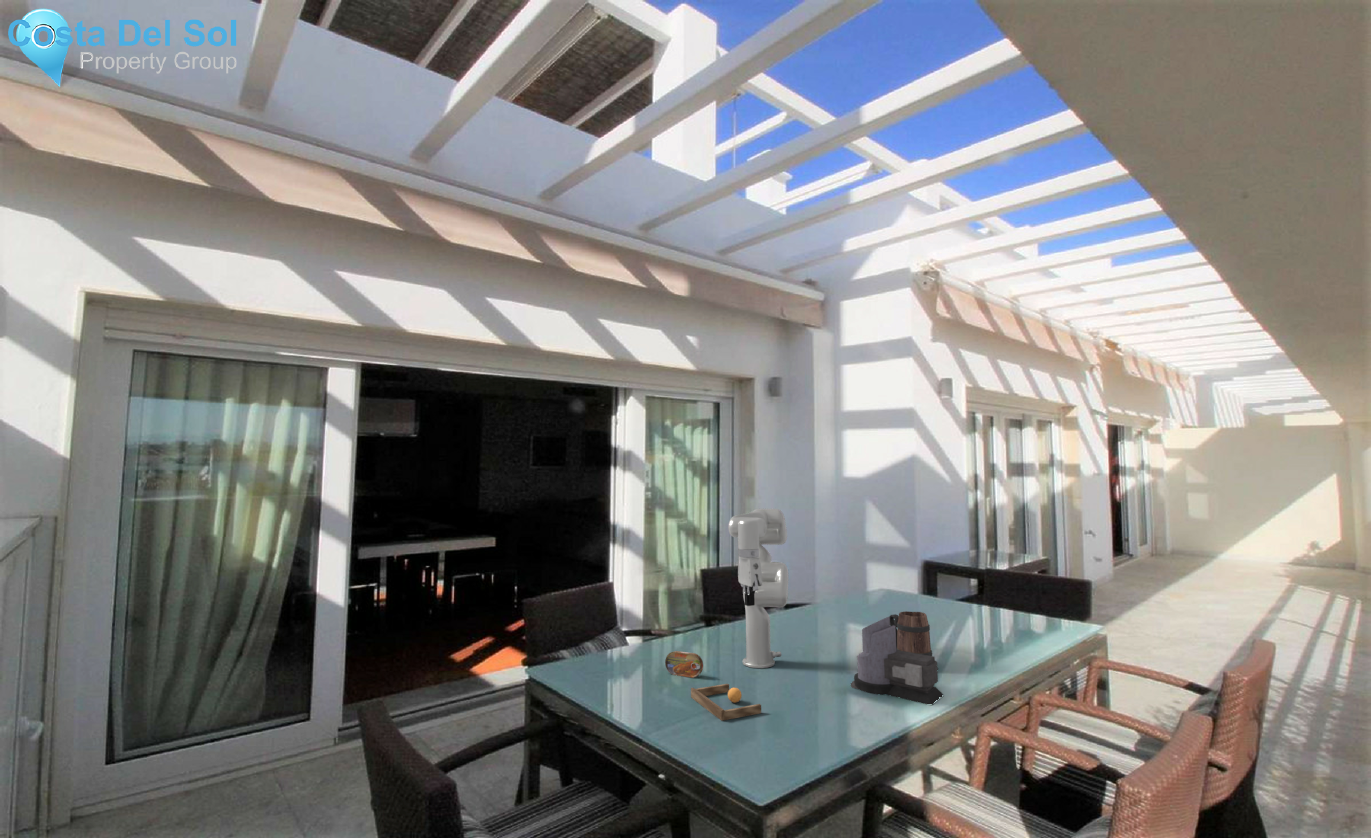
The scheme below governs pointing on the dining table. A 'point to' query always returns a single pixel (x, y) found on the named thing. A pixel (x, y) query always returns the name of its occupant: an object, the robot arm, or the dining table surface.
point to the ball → (734, 695)
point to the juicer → (894, 667)
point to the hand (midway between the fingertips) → (749, 605)
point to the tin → (684, 664)
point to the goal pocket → (716, 710)
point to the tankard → (912, 632)
